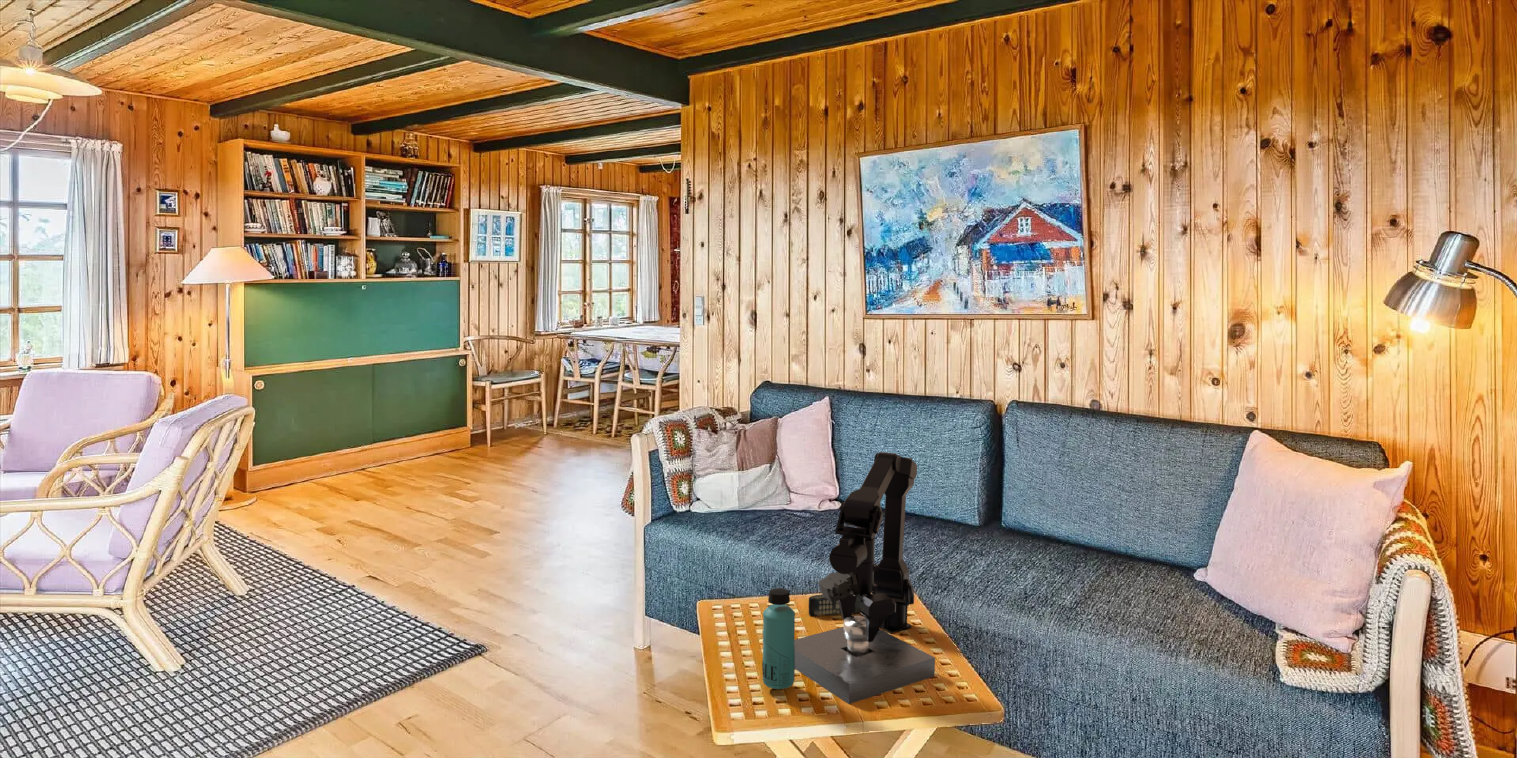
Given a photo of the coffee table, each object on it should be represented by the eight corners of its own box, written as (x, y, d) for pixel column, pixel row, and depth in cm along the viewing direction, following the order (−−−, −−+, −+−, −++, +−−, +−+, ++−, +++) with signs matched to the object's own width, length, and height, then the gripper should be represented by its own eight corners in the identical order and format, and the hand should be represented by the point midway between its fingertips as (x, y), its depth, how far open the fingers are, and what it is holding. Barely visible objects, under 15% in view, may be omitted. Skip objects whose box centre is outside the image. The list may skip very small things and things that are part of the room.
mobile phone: (810, 598, 207) (870, 593, 210) (806, 594, 210) (867, 588, 213) (810, 619, 208) (870, 613, 210) (807, 614, 210) (867, 608, 213)
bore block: (864, 638, 196) (864, 621, 195) (934, 676, 177) (935, 657, 177) (782, 660, 184) (783, 642, 183) (849, 704, 165) (849, 684, 165)
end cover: (859, 646, 184) (860, 613, 183) (878, 656, 179) (879, 622, 178) (837, 652, 181) (837, 619, 180) (855, 663, 176) (856, 628, 175)
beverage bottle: (799, 684, 173) (800, 586, 171) (789, 699, 167) (790, 598, 165) (767, 679, 175) (768, 582, 173) (756, 694, 169) (757, 593, 167)
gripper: (803, 550, 183) (802, 622, 185) (848, 579, 166) (846, 658, 168) (849, 544, 187) (848, 614, 189) (898, 571, 171) (896, 648, 172)
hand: (858, 633), depth 180 cm, fingers open, 9 cm apart
